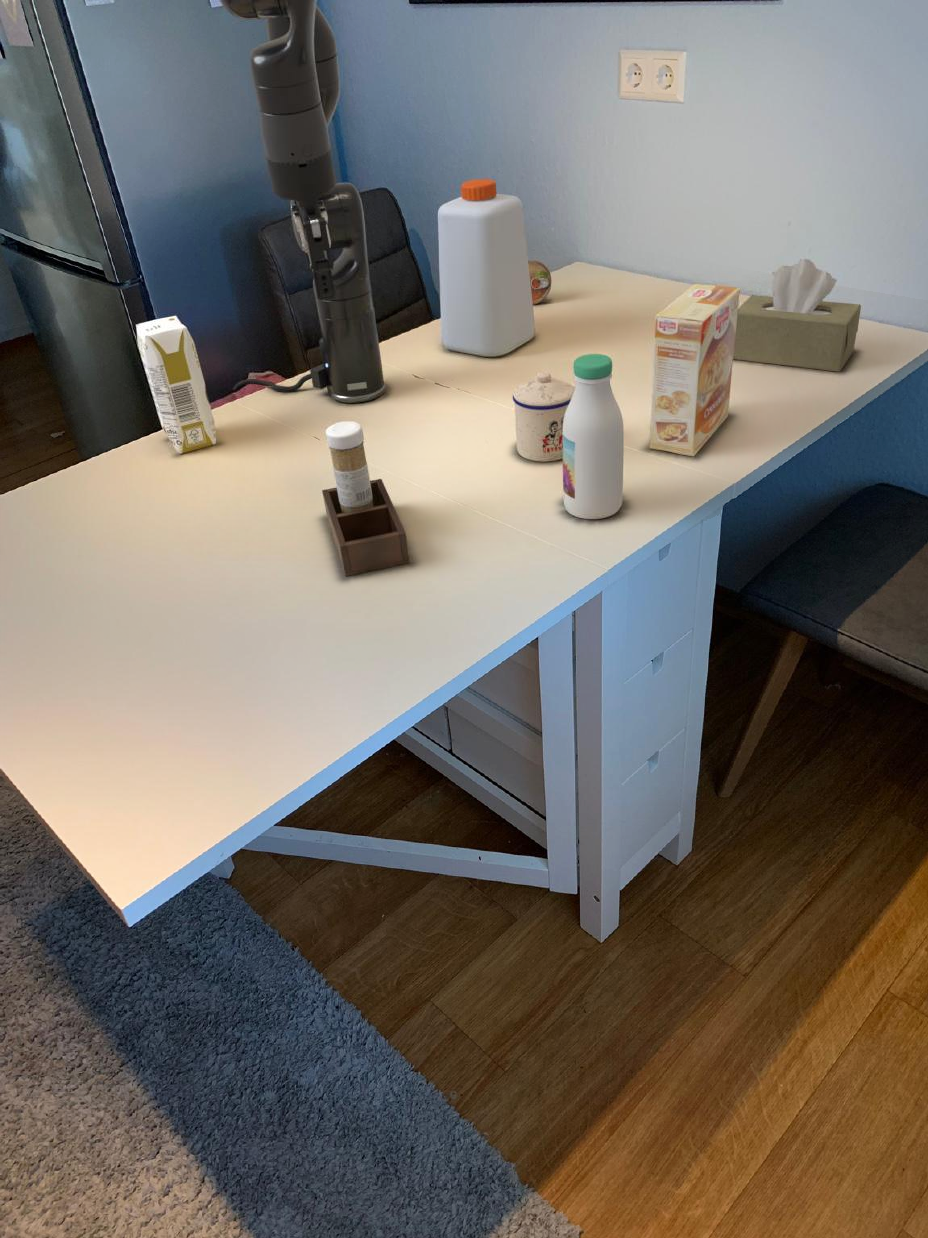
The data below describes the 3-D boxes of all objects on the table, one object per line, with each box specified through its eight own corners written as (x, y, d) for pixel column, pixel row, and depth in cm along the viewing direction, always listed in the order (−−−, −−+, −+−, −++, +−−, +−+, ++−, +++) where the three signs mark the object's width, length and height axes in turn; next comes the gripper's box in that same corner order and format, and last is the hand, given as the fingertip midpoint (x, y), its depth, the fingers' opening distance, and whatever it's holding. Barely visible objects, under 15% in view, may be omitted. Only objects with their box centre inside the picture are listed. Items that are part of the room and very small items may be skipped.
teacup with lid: (548, 469, 132) (546, 391, 126) (502, 452, 138) (498, 376, 131) (602, 439, 139) (602, 363, 132) (556, 424, 144) (554, 351, 138)
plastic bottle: (479, 324, 185) (468, 170, 168) (544, 334, 177) (539, 174, 161) (433, 349, 175) (416, 189, 159) (499, 361, 167) (489, 194, 151)
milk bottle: (629, 496, 124) (633, 350, 113) (612, 524, 119) (614, 374, 107) (574, 488, 127) (573, 345, 116) (555, 516, 122) (551, 368, 110)
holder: (345, 576, 114) (339, 546, 111) (327, 518, 126) (321, 489, 124) (409, 562, 115) (405, 533, 113) (385, 506, 128) (381, 478, 125)
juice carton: (175, 457, 146) (141, 338, 134) (163, 438, 152) (129, 323, 141) (222, 445, 148) (192, 326, 137) (208, 426, 154) (178, 312, 143)
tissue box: (855, 351, 158) (871, 255, 149) (841, 372, 152) (857, 273, 142) (745, 339, 167) (754, 247, 157) (727, 358, 160) (736, 264, 151)
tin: (479, 306, 194) (476, 264, 189) (481, 301, 196) (478, 260, 191) (551, 304, 191) (550, 262, 186) (552, 299, 194) (551, 257, 189)
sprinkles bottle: (369, 509, 126) (354, 416, 118) (381, 523, 122) (367, 429, 114) (337, 519, 124) (320, 425, 116) (349, 534, 121) (332, 438, 113)
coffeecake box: (694, 457, 132) (704, 320, 120) (647, 449, 135) (652, 314, 124) (730, 416, 142) (742, 286, 130) (685, 409, 145) (693, 281, 134)
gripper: (259, 133, 111) (286, 265, 123) (271, 173, 102) (299, 313, 113) (321, 124, 112) (342, 255, 124) (339, 163, 103) (360, 302, 114)
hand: (321, 283), depth 118 cm, fingers open, 8 cm apart
